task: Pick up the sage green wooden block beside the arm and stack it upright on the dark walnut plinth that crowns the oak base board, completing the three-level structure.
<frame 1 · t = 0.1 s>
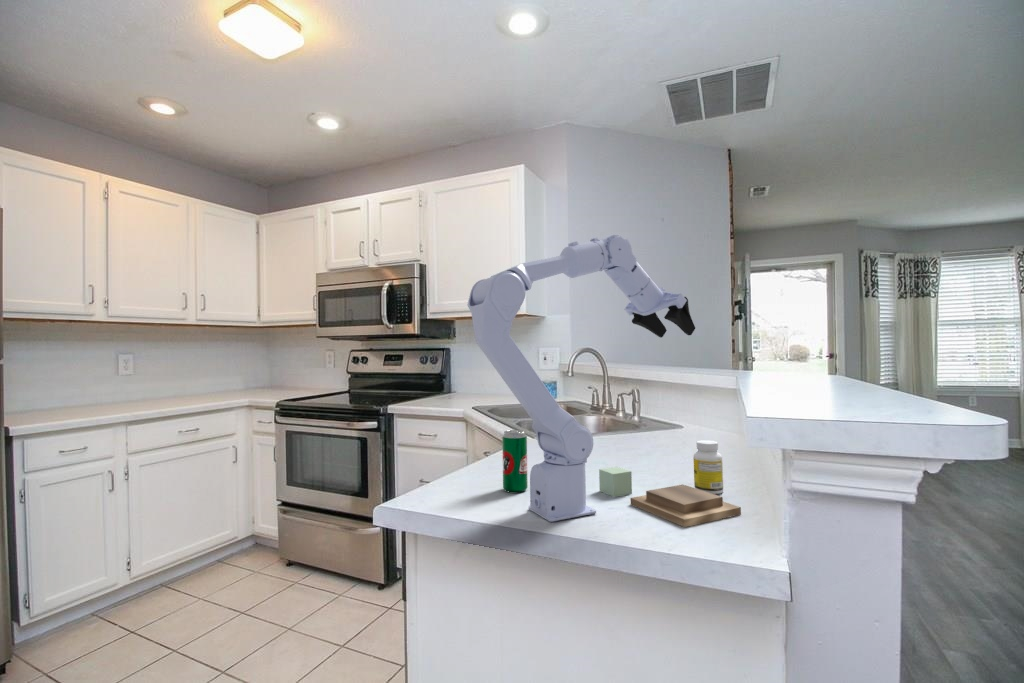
hand: (677, 332, 96), 32 cm above the worktop, tool tilted 50°, fingers open, 7 cm apart
soda can: (515, 491, 97), on the worktop
sage block: (615, 492, 94), on the worktop
blueprint base: (683, 509, 83), on the worktop
supplement bottle: (708, 491, 94), on the worktop
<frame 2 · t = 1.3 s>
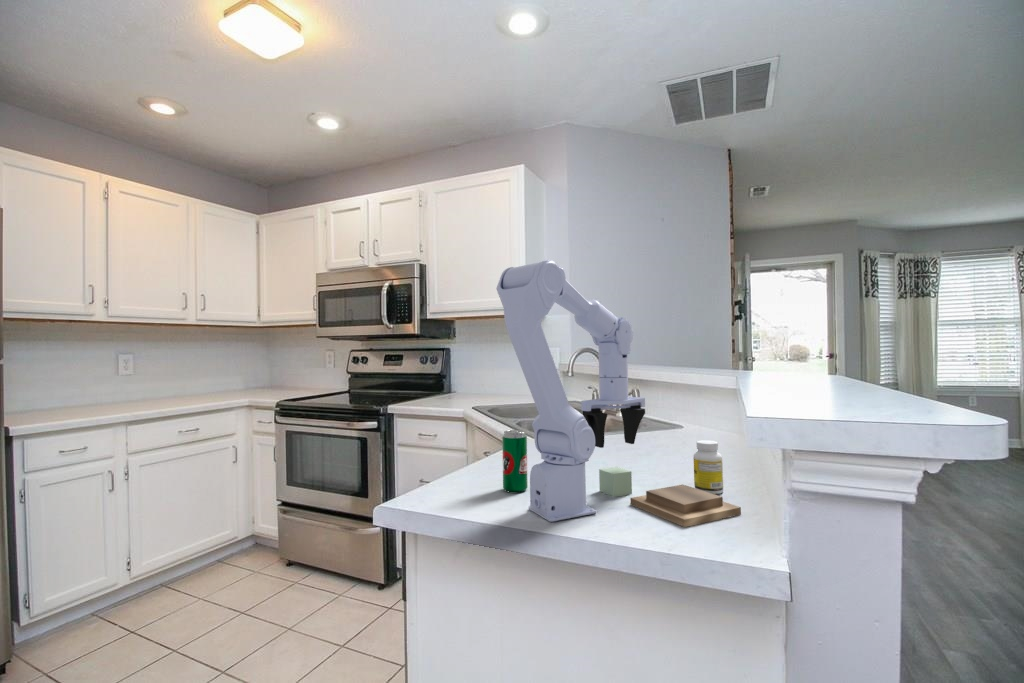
hand: (614, 445, 94), 9 cm above the worktop, tool pointing down, fingers open, 7 cm apart
nothing on the worktop moved.
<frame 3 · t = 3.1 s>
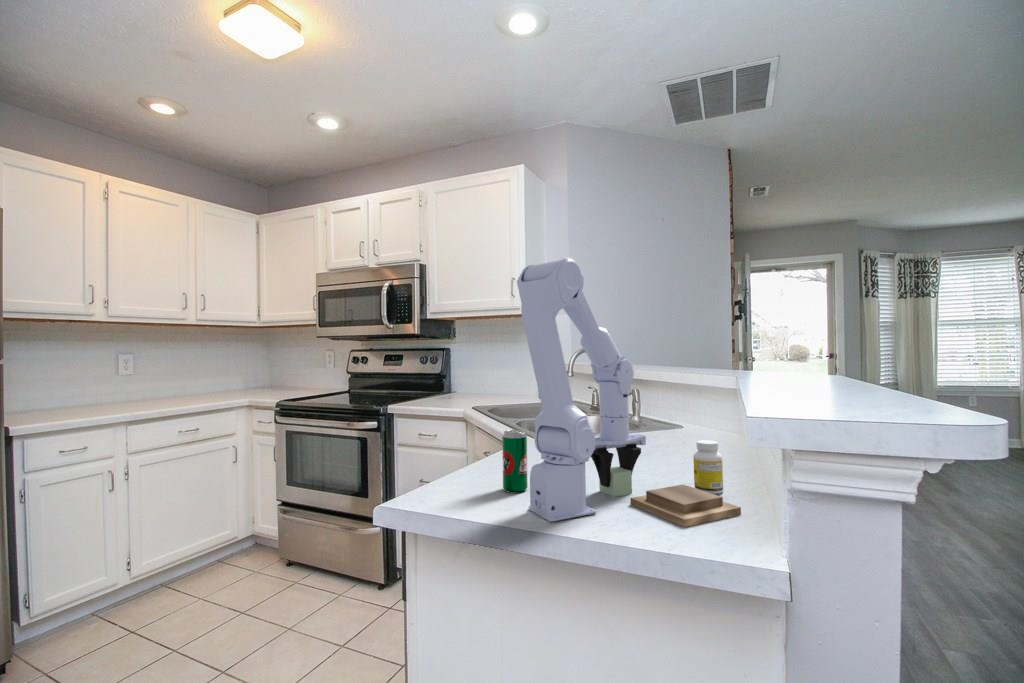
hand: (615, 484, 94), 2 cm above the worktop, tool pointing down, fingers closed on sage block, 4 cm apart
sage block: (615, 492, 94), on the worktop, touching gripper
everything else where it was.
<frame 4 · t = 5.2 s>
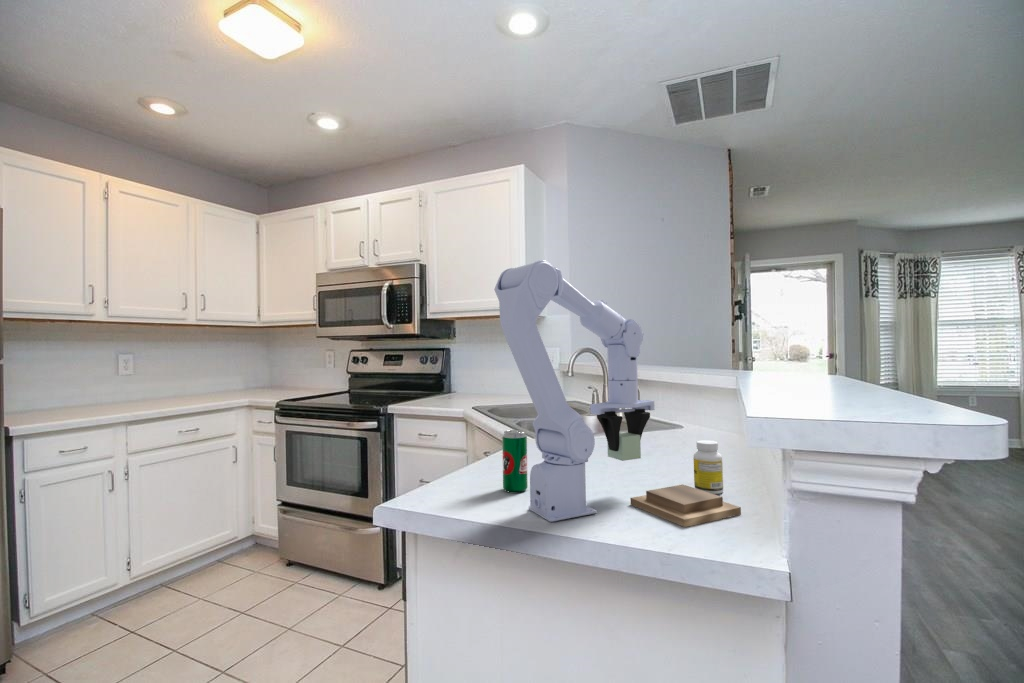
hand: (624, 449, 93), 9 cm above the worktop, tool pointing down, fingers closed on sage block, 4 cm apart
sage block: (624, 457, 93), point 7 cm above the worktop, touching gripper
everything else where it was.
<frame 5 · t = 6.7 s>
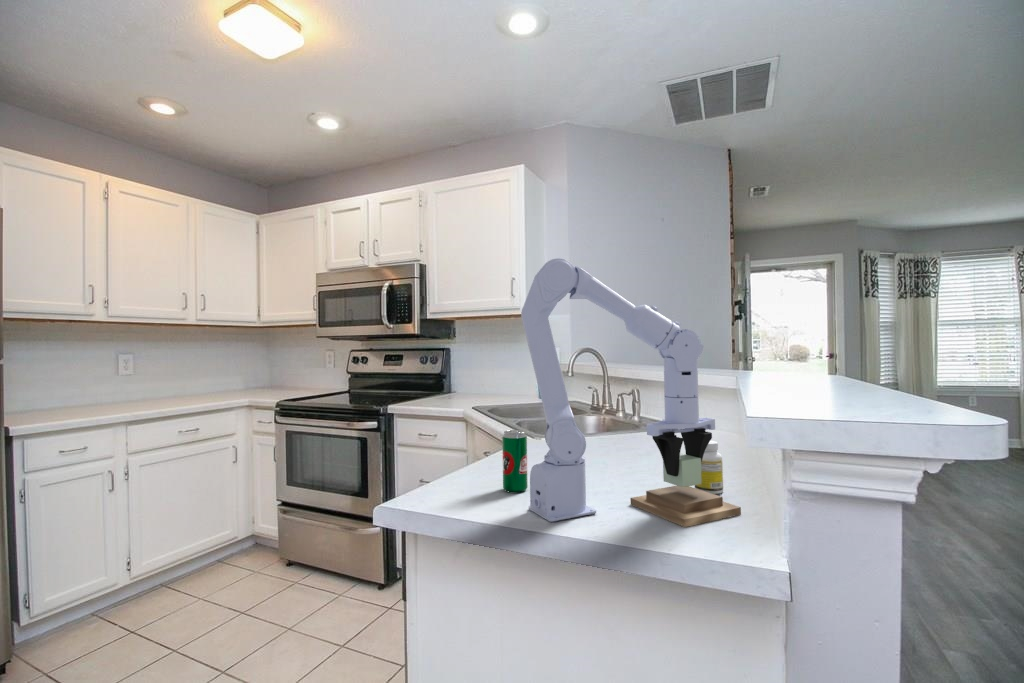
hand: (683, 473, 84), 6 cm above the worktop, tool pointing down, fingers closed on sage block, 4 cm apart
sage block: (682, 482, 84), point 5 cm above the worktop, touching gripper
everything else where it was.
when the fingers open (5 cm above the worktop, at t = 7.7 s): sage block drops 1 cm, resting on blueprint base.
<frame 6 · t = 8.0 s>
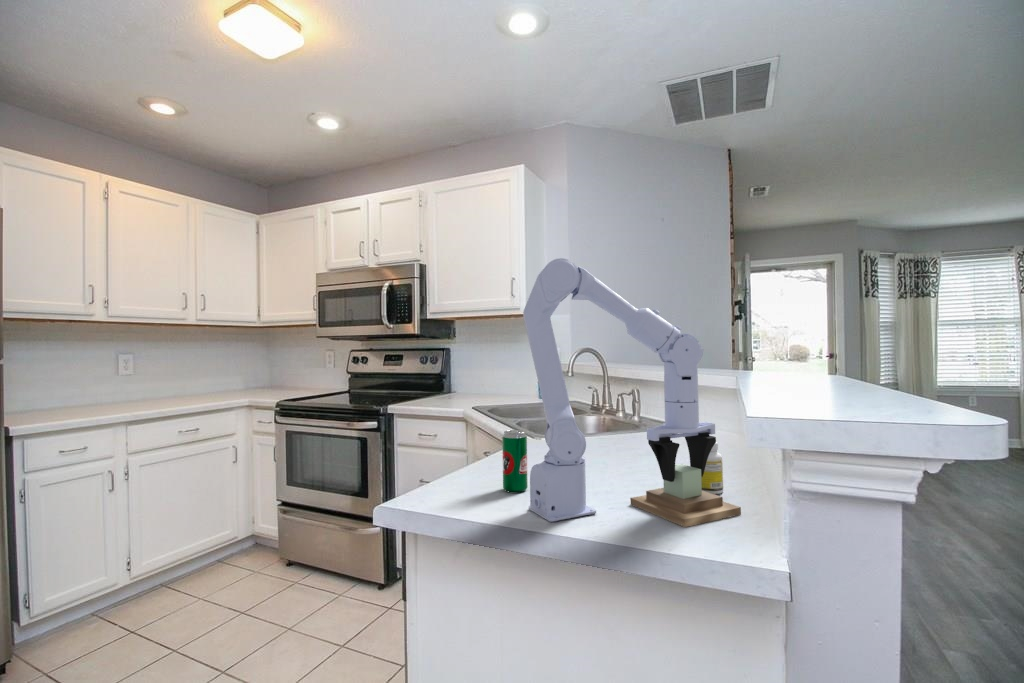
hand: (683, 477, 83), 6 cm above the worktop, tool pointing down, fingers open, 6 cm apart
sage block: (682, 493, 84), point 3 cm above the worktop, touching blueprint base
everything else where it was.
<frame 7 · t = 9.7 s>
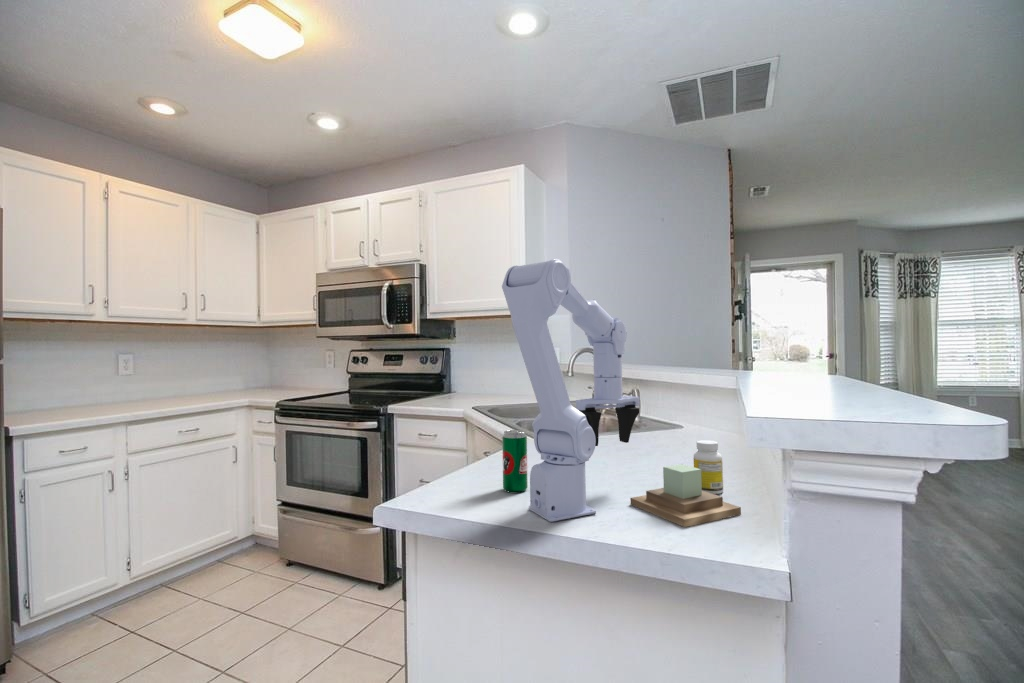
hand: (609, 443, 96), 9 cm above the worktop, tool pointing down, fingers open, 7 cm apart
nothing on the worktop moved.
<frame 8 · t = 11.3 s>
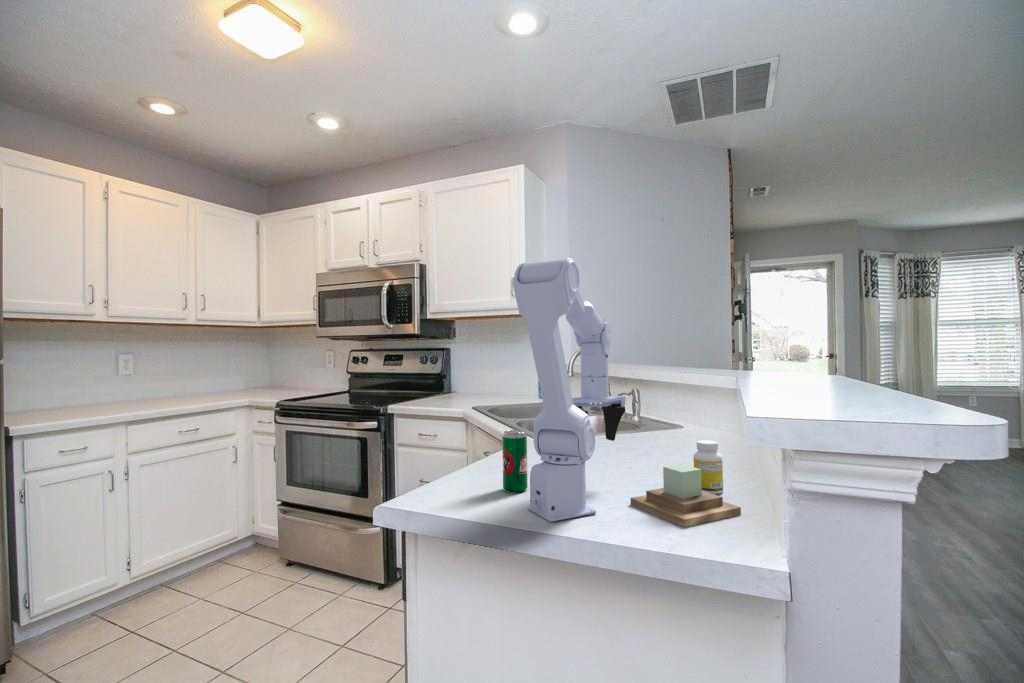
hand: (595, 441, 99), 9 cm above the worktop, tool pointing down, fingers open, 7 cm apart
nothing on the worktop moved.
at the end: sage block 0.2 cm off-centre on the blueprint base, point 2.7 cm above the blueprint base's base; sage block tilted 0°; the gripper is holding nothing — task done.
